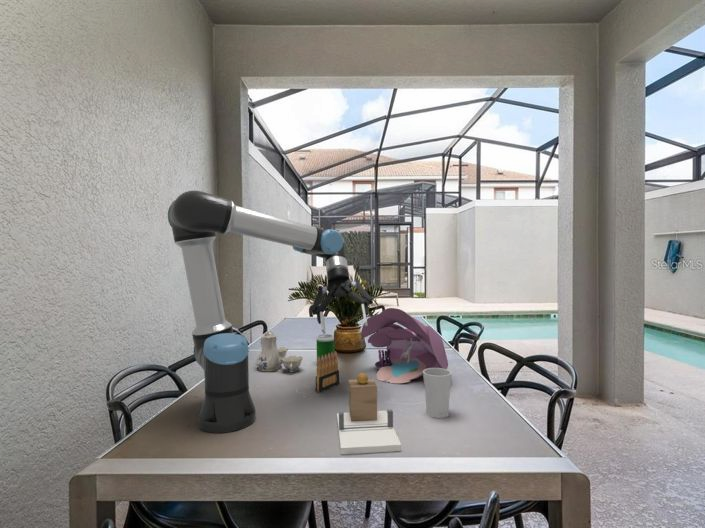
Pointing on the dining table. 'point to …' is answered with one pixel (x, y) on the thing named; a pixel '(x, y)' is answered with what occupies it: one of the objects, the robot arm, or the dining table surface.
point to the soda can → (325, 345)
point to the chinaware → (275, 355)
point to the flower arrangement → (404, 346)
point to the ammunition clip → (327, 372)
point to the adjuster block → (362, 398)
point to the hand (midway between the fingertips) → (344, 328)
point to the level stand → (367, 434)
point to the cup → (437, 391)
